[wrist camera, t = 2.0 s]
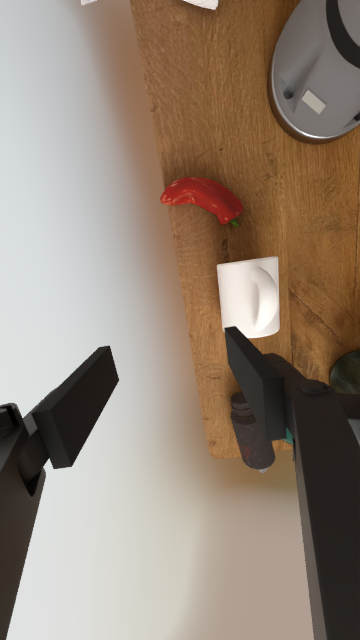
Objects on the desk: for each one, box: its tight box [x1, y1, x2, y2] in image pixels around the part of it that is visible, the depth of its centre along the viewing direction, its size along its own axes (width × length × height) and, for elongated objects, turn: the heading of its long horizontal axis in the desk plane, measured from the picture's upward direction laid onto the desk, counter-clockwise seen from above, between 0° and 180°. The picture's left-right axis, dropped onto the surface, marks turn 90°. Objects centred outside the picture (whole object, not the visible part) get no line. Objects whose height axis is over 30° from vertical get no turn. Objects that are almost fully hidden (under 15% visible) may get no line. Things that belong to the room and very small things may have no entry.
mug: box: [217, 256, 280, 338], centre depth 28 cm, size 8×10×12 cm
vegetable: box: [160, 177, 243, 227], centre depth 29 cm, size 4×5×12 cm
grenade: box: [231, 392, 275, 473], centre depth 38 cm, size 8×6×15 cm
